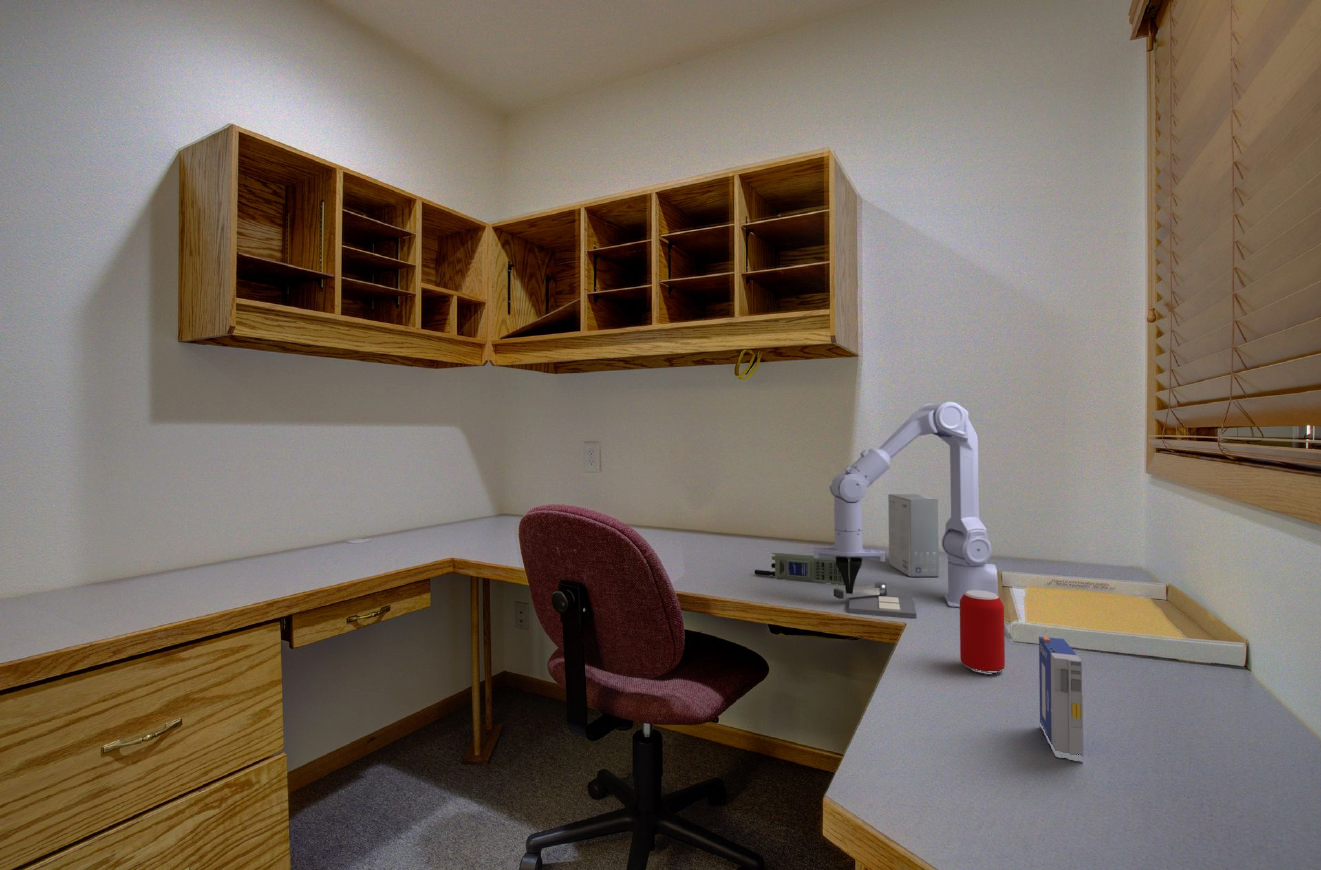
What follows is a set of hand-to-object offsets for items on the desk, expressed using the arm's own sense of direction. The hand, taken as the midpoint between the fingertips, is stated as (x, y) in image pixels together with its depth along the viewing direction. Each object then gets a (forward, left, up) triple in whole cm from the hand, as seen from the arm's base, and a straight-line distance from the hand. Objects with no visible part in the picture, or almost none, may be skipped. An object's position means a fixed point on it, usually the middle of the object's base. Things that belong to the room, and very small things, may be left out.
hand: (849, 592), depth 129 cm
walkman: (-26, +51, -3) cm, 57 cm away
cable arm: (-2, -4, -2) cm, 5 cm away
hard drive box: (-15, -38, -3) cm, 41 cm away
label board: (-6, -2, -3) cm, 7 cm away
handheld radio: (+12, -20, -4) cm, 24 cm away
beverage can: (-21, +29, -3) cm, 35 cm away
